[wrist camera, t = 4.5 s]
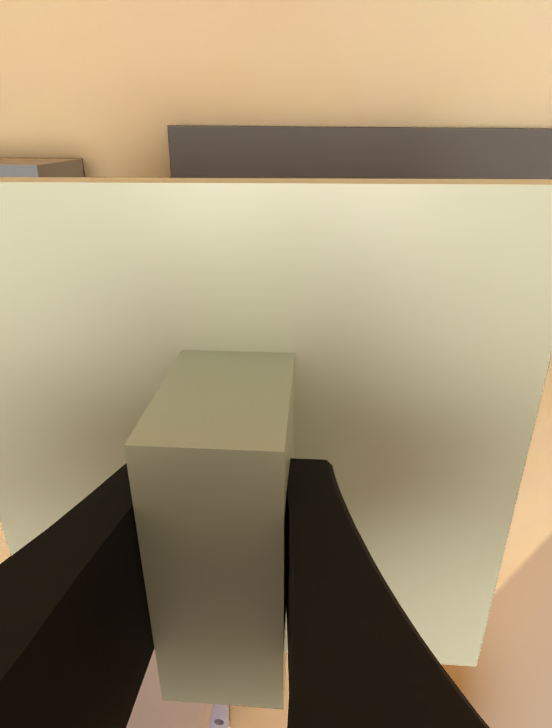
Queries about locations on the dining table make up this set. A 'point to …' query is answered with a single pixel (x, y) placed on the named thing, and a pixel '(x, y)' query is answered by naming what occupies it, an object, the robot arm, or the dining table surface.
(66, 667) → the robot arm
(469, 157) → the mat
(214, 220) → the lid
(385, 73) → the dining table surface
